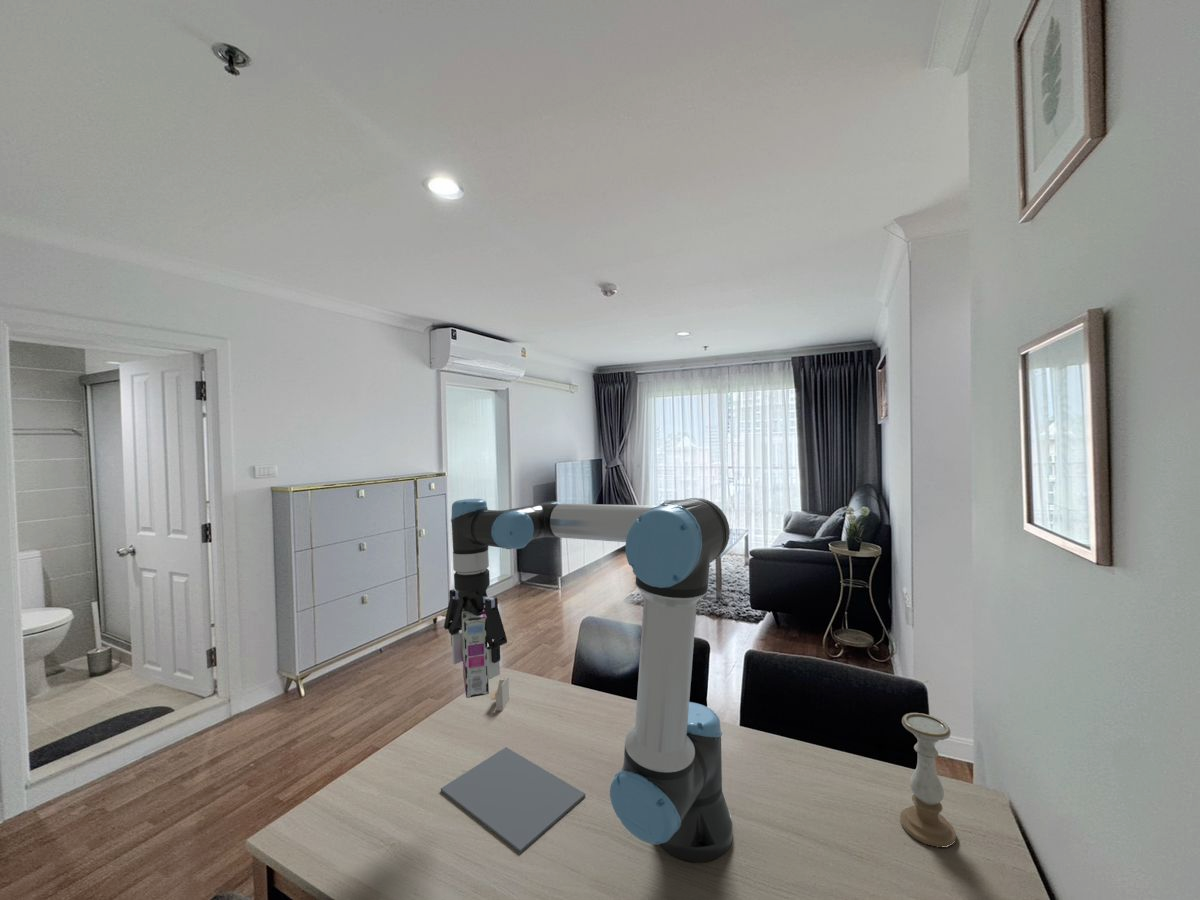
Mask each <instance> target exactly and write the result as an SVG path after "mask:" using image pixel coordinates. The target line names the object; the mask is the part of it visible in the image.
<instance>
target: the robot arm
mask: <svg viewBox="0 0 1200 900" xmlns="http://www.w3.org/2000/svg"><path fill="white" fill-rule="evenodd" d="M450 522H451V532H452V533H451V535H452V536H451V537H452V539H451V540H452V563H453V564H452V565H453V566H452V569H453V571H454V573H453V582H454V583H453V586H454V587H453V588H452V589H450V590H449V593H448V594H449V595H448V597H449V600H448V606H447V609H446V614H445V619H444V625H443V628H444V630H448V632H449V634H450V645H451V659H452V660H451V661H452V662H451V663H452V665H457V664H459V663H461V662H462V663H463V651H462V610H463V609H464V610H465V611H468V612H471V613H473V615H476V616H479V615H482V614H486V616H487V630H486V640H487V646H488V647H487V648H486V653H487V678H488V680H491V679H493V678H495V677H497V676H500V674H501V669H500V667H501V666H500V661H501V646H504V645H506V644H507V643H508V638H507V635H506V631H505V628H504V624H503V621H502V617H501V614H500V609H499V606H498V605H499V604H498V603H499V602H498V600H499V599H498V597H497V596H493V597H489V596H488V594H487V593H488V592H487V590H488V588H489V587H490V586H491V585H490V581H491V580H490V578H491V577H490V570H489V569H488V568H489V566H490V560H489V547H495V548H502V549H505V550H513V549H514V550H519V549H523V548H525V547H526V546H527V545H528V544H529V543H530V542H532V541H534V540H537V539H541V538H556V539H557V538H558V539H560V538H562V539H575V540H576V539H577V540H586V541H587V540H589V541H602V542H604V541H605V542H618V543H625V556H626V560H627V563H628V565H629V566H631V568H632V572H633V574H634V575H635V586H636V587H637V589H638V590H639V591H640V593H642V594H643V606H642V607H643V608H642V619H641V620H642V622H641V636H640V638H641V639H640V651H639V652H640V653H639V665H638V677H637V678H638V681H637V696H636V709H635V724H634V727H633V728H632V729H630V731H628V733H627V734H626V736H625V741H624V751H623V752H624V753H623V754H624V755H623V764H622V768H621V770H620V771H618V772H617V773H616V774H615V775H614V777H613V779H612V781H611V784H610V787H609V797H610V803H611V806H612V808H613V811H614V813H615V814H616V816H617V818H618V820H620V821H621V824H622V825H623V827H624V828H625V829H626V830H627V831H628V832H630V834H631V835H632V836H634V837H635V838H637V839H638V840H640V841H642V842H644V843H647V844H648V845H659V846H660V847H661V848H662V849H663V850H664V851H666V852H667V853H668V854H670V855H672V856H673V857H675V858H678V859H681V860H683V861H687V862H690V863H691V862H693V863H706V862H711V861H714V860H715V859H719V858H720V857H722V856H723V855H724V854H726V853H727V851H728V850H729V849H730V847H731V845H732V842H733V838H734V836H733V834H734V833H733V820H732V816H731V813H730V811H729V807H728V805H727V801H726V798H725V796H724V792H723V772H722V771H723V770H722V769H723V768H722V767H723V766H722V761H723V760H722V735H723V732H722V730H721V722H720V717H719V716H718V714H717V713H715V712H714V710H713V709H712V708H709V707H707V706H706V705H704V704H700V703H697V702H693V701H690V697H691V682H692V673H693V672H692V671H693V659H694V658H693V657H694V656H693V655H694V647H695V646H694V643H695V631H696V617H697V607H698V605H697V604H698V601H699V600H700V599H702V598H703V597H705V595H707V593H708V588H709V578H710V577H709V576H710V567H711V566H710V564H711V563H712V562H714V561H716V559H717V558H719V557H720V556H721V555H722V554H723V553H724V552H725V550H726V548H727V546H728V544H729V540H730V533H731V531H730V524H729V521H728V518H727V516H726V515H725V513H724V512H723V510H722V509H721V508H720V507H719V506H718V505H716V504H715V503H714V502H713V501H710V500H709V499H706V498H700V497H699V498H698V497H691V498H689V497H688V498H686V499H679V500H678V499H676V500H674V499H672V500H669V499H668V500H667V499H665V500H663V501H661V502H660V503H659V505H654V504H653V505H649V504H648V505H646V504H642V505H641V504H597V503H595V504H594V503H593V504H591V503H587V504H586V503H561V502H560V501H559V502H558V501H545V502H542V503H538V504H533V505H528V506H527V505H526V506H521V507H516V508H515V507H514V508H509V509H506V510H505V509H503V510H499V509H498V510H496V509H494V510H492V509H489V508H488V505H487V501H486V500H485V499H484V498H466V499H458V500H455V501H454V502H453V503H452V504H451V519H450ZM483 609H484V612H482V611H483ZM480 612H481V613H480Z"/></svg>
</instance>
